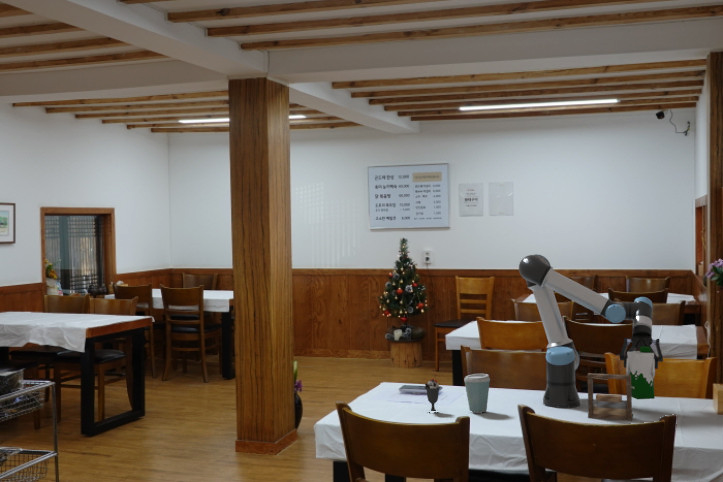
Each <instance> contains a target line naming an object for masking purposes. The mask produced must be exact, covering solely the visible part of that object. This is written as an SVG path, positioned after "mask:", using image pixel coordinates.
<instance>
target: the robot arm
mask: <svg viewBox="0 0 723 482" xmlns="http://www.w3.org/2000/svg"><path fill="white" fill-rule="evenodd" d="M518 272H519V274H520V276H521V277H522V279H523V280H525V282H526V285H527V289H529V290H531V291H532V293H533V296H534V299H535V302H536V306H537V311H538V312H539V316H540V319H541V323H542V325H543V329H544V332H545V335H546V338H547V342H548V344H547V345H546V354H545V363H546V387H545V391H544V393H543V398H542V405H544V404H545V405H544V406H546V405H548V406H547V407H551V406H552V407H554V408H574V407H575V408H576V407H579V406H580V405H581V399H580V396H579V393H578V392H579V391H578V389H577V388H576V370H578V368H579V366H580V363H581V362H580V360H581V359H580V354H579V353H578V351H577V350H576V347H575V343H574V341H573V339H572V338H571V339H570V338H569V337H568V333H567V330H566V327H565V323H564V320H563V318H562V315H561V314H562V313H561V310H560V308H559V305H558V302H557V299H556V296H555V292H556V293H558V294H559V295H561V296H563V297H566V298H567V299H569V300H571V301H572V302H574V303H576V304H578V305H581V306H583V308H586V309H587V310H588V309H589V310H590V311H592V312H593V313H596V314H598V315H600V316H602V317H603V318H604V319H605V320H607V321H609V322H611V323H613V324H619V323H621V322H623V321H632V332H631V333H632V335H631V338H627V337H624V338H623V345H622V347H621V350H620V352H619V355H618V356H619V360H620V361H623V367H624V368H625V375H629V362H628V355H627V352H633V351H638V350H640V347H642V346H647V347H651V352H652V353H654V360H653V366H652V374H653V377H654V378H655V377H656V370H657V369H659V363H660V362H661V363H662V362H664V357H663V353H662V349H661V346H660V344H661V343H660V342H661V341H660V339H659V338H657V339H653V338H652V337H653V313H654V312H653V301H652V300H651V299H649V298H648V297H645V296H640V297H636V298H635V299H634V302H627V301H626V302H625V301H613V300H611V299H609V298H607V297H605V296H603V295H601V294H600V293H598V292H596V291H594V290H593V289H590V288H588V287H587V286H585V285H582V284H580V283H578V282H576V281H574V280H573V279H570V278H569V277H567V276H565V275H563V274H561V273H560V272H558V271H555V270H554V267H553V266H552V265H551V263H550V261H549V259H548V258H547V257H545V256H544V255H541V254H537V253H536V254H529V255H526V256H525V257H523V258H522V259H521V260H520V261H519V264H518ZM630 344H632V345H631V347H630V348H629V349H628V347H629V346H630ZM652 344H653V345H654V346H655V348H656V349H655V350H656V351H657V354H656V352H655V351H654V349H653V348H652V346H651V345H652ZM627 350H628V351H627ZM657 355H658V356H657Z"/></svg>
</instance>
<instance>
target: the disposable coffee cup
mask: <svg viewBox="0 0 723 482" xmlns="http://www.w3.org/2000/svg"><path fill="white" fill-rule="evenodd" d="M489 376H490V374H487V373H473V374H469V375H466V376H464V379H463V380H464V384H465V386H464V387H465V391H466V397H467V402H468V408H469V411H472V412H477V413H476V414H483V413H482V412H485V413H486V412H487V410H488V400H489V391H490V381H491V378H490V377H489Z"/></svg>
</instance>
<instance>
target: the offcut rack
mask: <svg viewBox="0 0 723 482" xmlns="http://www.w3.org/2000/svg"><path fill="white" fill-rule="evenodd" d="M594 379H612V380H625V384H626V389H625V390H626V400H625V399H623V396H622V394H607V393H606V394H603V393H597V394H596V395H595V404H594ZM632 401H633V397H632V393H631V375H627V374H617V373H616V374H614V373H613V374H612V373H591V372H588V373H587V402H588V403H587V405H588V406H587V407H588V414H587V419H601V420H614V421H615V420H616V421H627V422H628V421H629V422H630V421H631V422H633V419H634V413H633V406H632V405H633V402H632Z"/></svg>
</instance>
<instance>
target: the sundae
mask: <svg viewBox="0 0 723 482" xmlns="http://www.w3.org/2000/svg"><path fill="white" fill-rule="evenodd" d="M436 377H437V374H434V377H433V378H431V379H430V380H428V382H426V383H424V385H425V386H424V389H425V390H426V397H427V401H428V402H429V403H430V404H431V408H430V410H431V411H436V408H435V404H436V403H437V402H438V401H439V400H438V399H439V393H440V389H441V386H440V385H439V383H438V380H437V378H436Z"/></svg>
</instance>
